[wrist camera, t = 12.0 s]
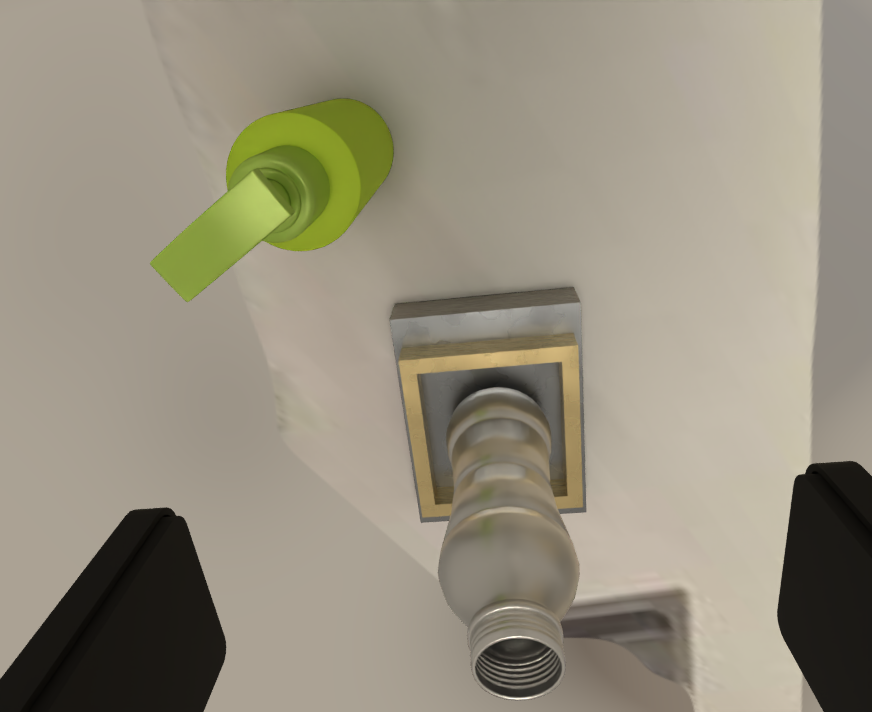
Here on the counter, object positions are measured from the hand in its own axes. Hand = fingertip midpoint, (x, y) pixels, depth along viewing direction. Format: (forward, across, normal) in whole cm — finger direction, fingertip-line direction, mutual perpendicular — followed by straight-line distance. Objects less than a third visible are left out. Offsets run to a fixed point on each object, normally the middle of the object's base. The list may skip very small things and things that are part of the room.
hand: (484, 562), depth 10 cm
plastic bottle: (+31, 0, +15) cm, 34 cm away
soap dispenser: (+34, +8, -3) cm, 35 cm away
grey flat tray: (+33, 0, +15) cm, 37 cm away
